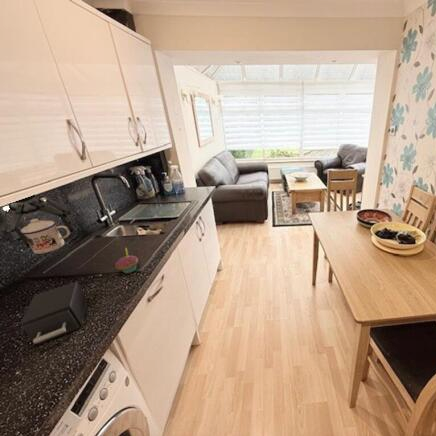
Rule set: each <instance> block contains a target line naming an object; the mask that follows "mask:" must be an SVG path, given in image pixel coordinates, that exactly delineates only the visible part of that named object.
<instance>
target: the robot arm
mask: <svg viewBox="0 0 436 436" xmlns="http://www.w3.org/2000/svg"><path fill="white" fill-rule="evenodd" d="M43 203H45V204H48V205H50V206H51V207H50V206H47V205H45V204H43ZM10 211H11V212H15V213H14V214H13V218H12V221H11V222H10V225H9V228H8V214H9V212H10ZM38 211H39V212H43V213H47V214H50V215H53V216H56V217H58V218H60V221H61V222H62V223H63V226H66V227H68V228H69V230H70V234H71V233H73V232H74V228H73V227H72V225H71V224H72V220H71V219H70V217H69V216H71V214H72V212H71V209H69V208H68V207H66V206H64V205H63V204H61V203H59V202H58V201H55V200H54V199H52V197H51V196H50V195H44V197H38V196H37V195H36V194H35V195H33V196H31V197H28V198H25V199H22V200H19V201H16V202H13V203H10V204H8V205H7V206H4V207H3V206H0V233H1V234H2V235H3V236H5V235H8V234H9V235H12V237H13V238H14V240H15V241H22V243H23V244H24V245H25V247H26V248H27V249H28V248H31V247H30V245H29V243H28V241H27V240H26V239H25V237H24V236H23V234H22V233H21V230H20V229H19V225H20V222H21V220H22V218H23V217H24V215H29V214H30V213H36V212H38Z"/></svg>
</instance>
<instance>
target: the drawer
mask: <svg viewBox="0 0 436 436" xmlns="http://www.w3.org/2000/svg"><path fill="white" fill-rule="evenodd" d="M22 328H23V330H24V331H25V332H26V334H28V336H29V337H30V338H31V339H33V340H32V342H33V344H34V345H36V346H38V345H41V344H44V343H46V342H49V341H51V340H53V339H56V338H58V337H61V336H64V335H66V334H69V333H71V332H73V331H76V330H78V329H80V327H79V324H78V323H77V321H76V320H75V318H74V317H73V315H72V313H71V312H70V310H69V309H65V310H63V311H60V312H57V313H54V314H52V315H49V316H46V317H43V318H40V319H38V320H35V321H32V322H30V323H28V324H25V325H24V327H22Z"/></svg>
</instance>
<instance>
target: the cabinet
mask: <svg viewBox="0 0 436 436" xmlns="http://www.w3.org/2000/svg"><path fill="white" fill-rule="evenodd" d="M87 304H88V298H87V297H86V294H85V293H84V291H83V289H82V288H81V286H80V284H79V283H78V281H74V282H71V283H67V284H65V285H61V286H59V287H55V288H52V289H49V290H45V291H43V292H40V293H36V294H34V295H33V297H32V299H31V301H30V303H29V305H28V306H27V309H26V311H25V313H24V315H23V316H22V318H21V320H20V322H19V324H20V326H21V327H22V328H23V327H24V325H25V324H28V323H30V322H32V321H35V320H38V319H40V318H43V317H46V316H49V315H52V314H54V313H57V312H60V311H63V310H65V309H69V310H70V312H71V313H72V315H73V317H74V318H75V320H76V321H77V323H78V324H79V328H80V327H83V324H84V318H85V316H86V315H85V314H86V309H87V306H88V305H87ZM31 339H32V338H31ZM32 341H33V339H32Z"/></svg>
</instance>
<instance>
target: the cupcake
mask: <svg viewBox="0 0 436 436" xmlns="http://www.w3.org/2000/svg"><path fill="white" fill-rule="evenodd" d="M124 251H125V256H122V257H121V258H119V259H118V260H117V261H116V262H115V264H114V267H115V269H116V270H118V271H121V272H122V273H124V274H130V273H132V272H134V271H136V270H137V264H138V262H139V259H138V256H136V255H130V254H129V251H128V248H127V247H125V248H124Z"/></svg>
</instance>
